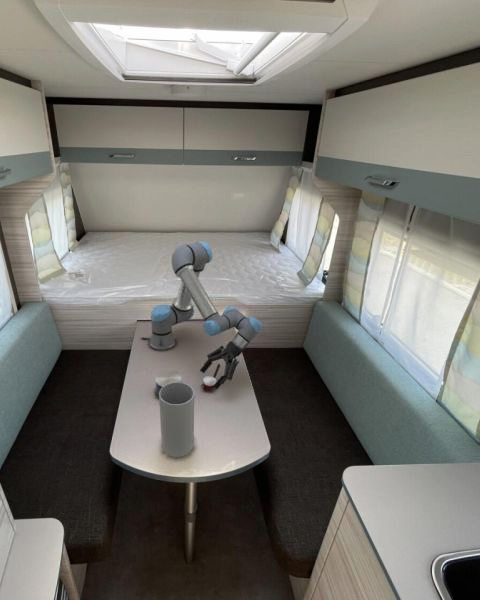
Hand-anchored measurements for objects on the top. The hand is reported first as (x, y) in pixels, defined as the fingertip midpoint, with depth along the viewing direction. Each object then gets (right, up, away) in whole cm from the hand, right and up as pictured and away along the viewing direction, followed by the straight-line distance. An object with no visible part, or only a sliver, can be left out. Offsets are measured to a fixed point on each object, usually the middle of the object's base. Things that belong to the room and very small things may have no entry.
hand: (208, 379), depth 155 cm
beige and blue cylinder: (-19, -6, 0) cm, 20 cm away
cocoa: (+1, -5, +3) cm, 6 cm away
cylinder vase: (-13, -19, -28) cm, 36 cm away
